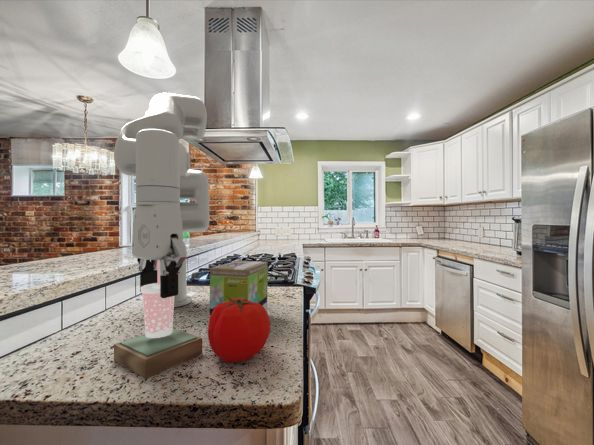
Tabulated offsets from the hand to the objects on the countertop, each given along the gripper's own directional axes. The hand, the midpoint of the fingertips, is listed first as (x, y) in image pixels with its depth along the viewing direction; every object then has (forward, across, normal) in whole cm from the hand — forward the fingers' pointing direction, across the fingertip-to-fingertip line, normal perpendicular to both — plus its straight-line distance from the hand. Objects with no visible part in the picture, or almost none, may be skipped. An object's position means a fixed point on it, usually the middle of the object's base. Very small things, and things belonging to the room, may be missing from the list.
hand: (158, 293), depth 56 cm
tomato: (+12, +13, +8) cm, 19 cm away
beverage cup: (+8, 0, 0) cm, 8 cm away
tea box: (+12, -2, +23) cm, 26 cm away
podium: (+12, 0, 0) cm, 12 cm away
